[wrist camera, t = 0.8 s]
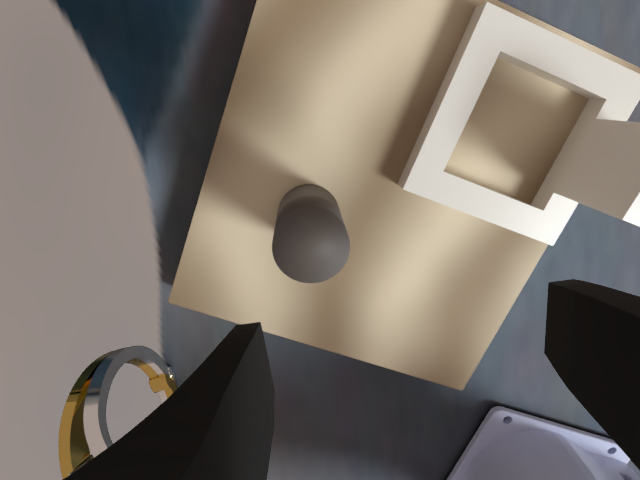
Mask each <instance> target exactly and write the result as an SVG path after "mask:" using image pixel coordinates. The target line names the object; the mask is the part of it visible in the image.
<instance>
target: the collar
mask: <svg viewBox="0 0 640 480" xmlns="http://www.w3.org/2000/svg"><path fill="white" fill-rule="evenodd" d="M497 58H500V59H502V60H504V61H506V62H509V63H511V64H513V65H515V66H517V67H520V68H522V69H524V70H526V71H528V72H531V73H533V74H535V75H537V76H540V77H542V78H544V79H546V80H548V81H551V82H553V83H555V84H557V85H559V86H562V87H564V88H566V89H568V90H571V91H573V92H575V93H577V94H579V95H582V96H584V97H586V98H588V99H589V100H588V102H587V104H586V106H585V107H584V109H583V111H582V113H581V115H580V116H579V118H578V120H577V122H576V124H575V125H574V127H573V129H572V131H571V133H570V135H569V136H568V138H567V140H566V142H565V144H564V145H563V147H562V149H561V151H560V153H559V154H558V156H557V158H556V160H555V162H554V163H553V165H552V167H551V169H550V171H549V172H548V174H547V176H546V178H545V180H544V181H543V183H542V185H541V187H540V189H539V190H538V192H537V194H536V196H535V198H534V199H533V201H532V203H531V204H528V203H525V202H523V201H520V200H518V199H515V198H513V197H510V196H508V195H505V194H503V193H500V192H497V191H495V190H492V189H490V188H487V187H485V186H482V185H480V184H477V183H475V182H472V181H469V180H467V179H464V178H462V177H459V176H457V175H454V174H452V173H449V172H447V171H444V169H445V167H446V165H447V163H448V161H449V159H450V156H451V154H452V152H453V150H454V148H455V146H456V144H457V142H458V140H459V137H460V135H461V133H462V131H463V129H464V127H465V125H466V123H467V121H468V118H469V116H470V114H471V112H472V110H473V108H474V106H475V104H476V102H477V99H478V97H479V95H480V93H481V91H482V89H483V87H484V85H485V83H486V80H487V78H488V76H489V74H490V72H491V70H492V68H493V66H494V64H495V62H496V59H497ZM639 100H640V74H639V73H637V72H635V71H632V70H630V69H628V68H626V67H624V66H622V65H620V64H618V63H616V62H613V61H611V60H609V59H607V58H605V57H603V56H601V55H599V54H597V53H594V52H592V51H590V50H588V49H586V48H584V47H582V46H580V45H578V44H575V43H573V42H571V41H569V40H567V39H565V38H563V37H561V36H559V35H557V34H554V33H552V32H550V31H548V30H546V29H544V28H542V27H540V26H538V25H535V24H533V23H531V22H529V21H527V20H525V19H523V18H521V17H519V16H516V15H514V14H512V13H510V12H508V11H506V10H504V9H502V8H500V7H497V6H495V5H493V4H491V3H489V2H485V3H483V4H481V5H479V6H477V7H476V8H475V10H474V12H473V14H472V17H471V19H470V21H469V23H468V26H467V28H466V30H465V32H464V35H463V37H462V39H461V41H460V44H459V46H458V48H457V50H456V53H455V55H454V57H453V59H452V62H451V64H450V66H449V68H448V71H447V73H446V75H445V77H444V80H443V82H442V84H441V86H440V89H439V91H438V93H437V96H436V98H435V100H434V102H433V105H432V107H431V109H430V111H429V114H428V116H427V118H426V120H425V123H424V125H423V127H422V129H421V132H420V134H419V136H418V138H417V141H416V143H415V145H414V147H413V150H412V152H411V154H410V156H409V159H408V161H407V163H406V165H405V168H404V170H403V172H402V174H401V177H400V179H399V181H398V185H399V186H400V187H401V188H402V189H403V190H406V191H408V192H411V193H414V194H416V195H419V196H422V197H424V198H427V199H430V200H432V201H435V202H437V203H440V204H443V205H445V206H448V207H451V208H453V209H456V210H459V211H461V212H464V213H467V214H469V215H472V216H475V217H477V218H480V219H482V220H485V221H488V222H490V223H493V224H496V225H498V226H501V227H504V228H506V229H509V230H512V231H514V232H517V233H520V234H522V235H525V236H527V237H530V238H533V239H535V240H538V241H541V242H543V243H546V244H549V245H551V246H553V245H554V244H555V242H556V240H557V239H558V237H559V235H560V234H561V232H562V230H563V228H564V227H565V225H566V223H567V222H568V220H569V218H570V217H571V215H572V213H573V212H574V210H575V208H576V206H577V205H578V203H581V204H583V205H586V206H588V207H591V208H593V209H596V210H598V211H601V212H603V213H606V214H608V215H611V216H614V217H616V218H619V219H621V220H624V221H626V222H629V223H631V224H634V225H636V226H639V227H640V122H629V121H627V120H628V118H629V117H630V115H631V113H632V112H633V110H634V108H635V107H636V105H637V103H638V101H639Z"/></svg>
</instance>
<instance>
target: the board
mask: <svg viewBox="0 0 640 480" xmlns="http://www.w3.org/2000/svg"><path fill="white" fill-rule="evenodd" d="M485 2H489V3H491V4H493V5H495V6H497V7H500V8H502V9H504V10H506V11H508V12H510V13H512V14H514V15H516V16H519V17H521V18H523V19H525V20H527V21H529V22H531V23H533V24H535V25H538V26H540V27H542V28H544V29H546V30H548V31H550V32H552V33H554V34H557V35H559V36H561V37H563V38H565V39H567V40H569V41H571V42H573V43H575V44H578V45H580V46H582V47H584V48H586V49H588V50H590V51H592V52H594V53H597V54H599V55H601V56H603V57H605V58H607V59H609V60H611V61H613V62H616V63H618V64H620V65H622V66H624V67H626V68H628V69H630V70H632V71H635V72H637V73H639V74H640V68H639V67H637V66H635V65H632V64H630V63H628V62H626V61H624V60H622V59H620V58H618V57H616V56H614V55H612V54H609V53H607V52H605V51H603V50H601V49H599V48H597V47H595V46H593V45H591V44H588V43H586V42H584V41H582V40H580V39H578V38H576V37H574V36H572V35H570V34H567V33H565V32H563V31H561V30H559V29H557V28H555V27H553V26H551V25H549V24H547V23H544V22H542V21H540V20H538V19H536V18H534V17H532V16H530V15H528V14H526V13H523V12H521V11H519V10H517V9H515V8H513V7H511V6H509V5H507V4H505V3H503V2H500V1H498V0H257V1H256V5H255V8H254V12H253V15H252V18H251V22H250V25H249V28H248V32H247V35H246V39H245V42H244V45H243V49H242V52H241V56H240V59H239V62H238V66H237V69H236V73H235V76H234V79H233V83H232V86H231V90H230V93H229V96H228V100H227V103H226V107H225V110H224V113H223V117H222V120H221V124H220V127H219V130H218V134H217V137H216V141H215V144H214V147H213V151H212V154H211V158H210V161H209V164H208V168H207V171H206V175H205V178H204V181H203V185H202V188H201V192H200V195H199V198H198V202H197V205H196V209H195V212H194V215H193V219H192V222H191V226H190V229H189V232H188V236H187V239H186V243H185V246H184V249H183V253H182V256H181V260H180V263H179V266H178V270H177V273H176V277H175V280H174V283H173V287H172V290H171V294H170V297H169V300H168V303H171V304H174V305H178V306H181V307H184V308H188V309H191V310H194V311H198V312H201V313H204V314H208V315H211V316H214V317H218V318H221V319H224V320H228V321H231V322H234V323H238V324H249V323H256V322H261V326H262V331H264V332H268V333H271V334H274V335H278V336H281V337H284V338H288V339H291V340H294V341H298V342H301V343H304V344H308V345H311V346H314V347H318V348H321V349H324V350H328V351H331V352H334V353H338V354H341V355H344V356H348V357H351V358H354V359H358V360H361V361H364V362H368V363H371V364H374V365H378V366H381V367H384V368H388V369H391V370H394V371H398V372H401V373H404V374H408V375H411V376H414V377H418V378H421V379H424V380H428V381H431V382H434V383H438V384H441V385H444V386H448V387H451V388H454V389H458V390H461V391H463V389H464V387H465V386H466V384H467V382H468V380H469V379H470V377H471V375H472V374H473V372H474V370H475V368H476V367H477V365H478V363H479V362H480V360H481V358H482V357H483V355H484V353H485V351H486V350H487V348H488V346H489V345H490V343H491V341H492V339H493V338H494V336H495V334H496V333H497V331H498V329H499V328H500V326H501V324H502V322H503V321H504V319H505V317H506V316H507V314H508V312H509V310H510V309H511V307H512V305H513V304H514V302H515V300H516V299H517V297H518V295H519V293H520V292H521V290H522V288H523V287H524V285H525V283H526V281H527V280H528V278H529V276H530V275H531V273H532V271H533V270H534V268H535V266H536V264H537V263H538V261H539V259H540V258H541V256H542V254H543V252H544V251H545V249H546V247H547V246H548V244H546V243H543V242H541V241H538V240H535V239H533V238H530V237H527V236H525V235H522V234H520V233H517V232H514V231H512V230H509V229H506V228H504V227H501V226H498V225H496V224H493V223H490V222H488V221H485V220H482V219H480V218H477V217H475V216H472V215H469V214H467V213H464V212H461V211H459V210H456V209H453V208H451V207H448V206H445V205H443V204H440V203H437V202H435V201H432V200H430V199H427V198H424V197H422V196H419V195H416V194H414V193H411V192H408V191H406V190H403V189H402V188H401V187H400V186H399V185H398V181H399V179H400V177H401V174H402V172H403V170H404V168H405V165H406V163H407V161H408V159H409V156H410V154H411V152H412V150H413V147H414V145H415V143H416V141H417V138H418V136H419V134H420V132H421V129H422V127H423V125H424V123H425V120H426V118H427V116H428V114H429V111H430V109H431V107H432V105H433V102H434V100H435V98H436V96H437V93H438V91H439V89H440V86H441V84H442V82H443V80H444V77H445V75H446V73H447V71H448V68H449V66H450V64H451V62H452V59H453V57H454V55H455V53H456V50H457V48H458V46H459V44H460V41H461V39H462V37H463V35H464V32H465V30H466V28H467V26H468V23H469V21H470V19H471V17H472V14H473V12H474V10H475V8H476V7H477V6H479V5H481V4H483V3H485ZM588 100H589V99H588V98H586V97H584V96H582V95H579V94H577V93H575V92H573V91H571V90H568V89H566V88H564V87H562V86H559V85H557V84H555V83H553V82H551V81H548V80H546V79H544V78H542V77H540V76H537V75H535V74H533V73H531V72H528V71H526V70H524V69H522V68H520V67H517V66H515V65H513V64H511V63H509V62H506V61H504V60H502V59H500V58H497V59H496V62H495V64H494V66H493V68H492V70H491V72H490V74H489V76H488V78H487V80H486V83H485V85H484V87H483V89H482V91H481V93H480V95H479V97H478V99H477V102H476V104H475V106H474V108H473V110H472V112H471V114H470V116H469V118H468V121H467V123H466V125H465V127H464V129H463V131H462V133H461V135H460V137H459V140H458V142H457V144H456V146H455V148H454V150H453V152H452V154H451V156H450V159H449V161H448V163H447V165H446V167H445V169H444V171H447V172H449V173H452V174H454V175H457V176H459V177H462V178H464V179H467V180H469V181H472V182H475V183H477V184H480V185H482V186H485V187H487V188H490V189H492V190H495V191H497V192H500V193H503V194H505V195H508V196H510V197H513V198H515V199H518V200H520V201H523V202H525V203H528V204H531V203H532V201H533V199H534V198H535V196H536V194H537V192H538V190H539V189H540V187H541V185H542V183H543V181H544V180H545V178H546V176H547V174H548V172H549V171H550V169H551V167H552V165H553V163H554V162H555V160H556V158H557V156H558V154H559V153H560V151H561V149H562V147H563V145H564V144H565V142H566V140H567V138H568V136H569V135H570V133H571V131H572V129H573V127H574V125H575V124H576V122H577V120H578V118H579V116H580V115H581V113H582V111H583V109H584V107H585V106H586V104H587V102H588Z"/></svg>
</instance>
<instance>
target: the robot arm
mask: <svg viewBox="0 0 640 480" xmlns="http://www.w3.org/2000/svg"><path fill="white" fill-rule="evenodd" d="M544 353H545V354H546V356H547V358H548V359H549V361H550V362H551V364H552V366H553V367H554V369H555V370H556V372H557V373H558V375H559V376H560V378H561V379H562V380H563V382H564V383H565V385H566V386H567V388H568V389H569V390H570V391H571V392H572V394H573V395H574V396H575V397H576V398H577V399H578V401H579V402H580V403H581V404H582V405H583V406H584V408H585V409H586V410H587V411H588V412H589V413H590V414H591V416H592V417H593V418H594V419H595V420H596V421H597V422H598V423H599V425H600V426H601V427H602V428H603V429H604V430H605V431H606V432H607V434H608V435H609V436H610V437H611V438H612V439H613V440H612V439H609V438H605V437H602V436H599V435H595V434H592V433H589V432H585V431H582V430H579V429H575V428H572V427H569V426H565V425H562V424H558V423H555V422H552V421H548V420H545V419H542V418H538V417H535V416H532V415H528V414H525V413H522V412H518V411H515V410H512V409H508V408H505V407H501V406H496V407H493V408H492V409H491V410H490V411H489V412H488V414H487V415H486V417H485V419H484V420H483V422H482V423H481V425H480V427H479V428H478V430H477V432H476V433H475V435H474V436H473V438H472V440H471V441H470V443H469V444H468V446H467V448H466V449H465V451H464V452H463V454H462V456H461V457H460V459H459V460H458V462H457V464H456V465H455V467H454V469H453V470H452V472H451V473H450V475H449V477H448V478H447V480H640V479H639V477H638V476H637V475H636V474H635V473H634V472H633V471H632V469H631V468H630V467H629V466H628V465H627V463H628V462H629V461H630V460H631V461H632V462H633V463H634V464H635V465H636V466H637V468H638V469H639V470H640V297H639V296H635V295H632V294H628V293H625V292H622V291H618V290H615V289H612V288H608V287H605V286H601V285H597V284H593V283H589V282H585V281H580V280H575V279H572V280H564V281H557V282H550V283H549V286H548V302H547V319H546V335H545V351H544ZM507 416H508V417H507ZM505 417H507V418H505ZM504 418H505V419H504ZM273 428H274V386H273V381H272V376H271V371H270V366H269V361H268V356H267V351H266V346H265V341H264V336H263V331H262V326H261V322H256V323H249V324H241V325H236V326H235V327H234V328H233V329H232V330H231V331H230V332H229V334H228V335H227V336H226V337H225V338H224V339H223V341H222V342H221V343H220V344H219V345H218V346H217V347H216V349H215V350H214V351H213V352H212V353H211V354H210V355H209V356H208V357H207V359H206V360H205V361H204V362H203V363H202V364H201V365H200V366H199V367H198V368H197V370H196V371H195V372H194V373H193V374H192V375H191V376H190V377H189V378H188V379H187V380H186V381H185V382H184V383H183V384H182V385H181V386H180V387H179V388H178V389H177V390H176V391H175V392H174V393H173V394H172V395H171V396H170V397H169V398H168V399H167V400H166V401H164V402H163V403H162V404H161V405H160V406H159V407H158V408H157V409H156V410H154V411H153V412H152V413H151V414H150V415H149V416H148V417H146V418H145V419H144V420H143V421H142V422H140V423H139V424H138V425H137V426H136V427H134V428H133V429H132V430H131V431H129V432H128V433H127V434H126V435H124V436H123V437H122V438H121V439H119V440H118V441H117V442H115V443H114V444H112V445H111V446H110V447H108V448H107V449H106V450H104V451H103V452H101V453H100V454H99V455H97V456H96V457H94V458H93V459H92V460H90V461H89V462H88V463H86V464H85V465H83V466H82V467H81V468H79V469H78V470H76V471H75V472H74V473H72V474H71V475H69V476H68V477H66V478H64V479H63V480H266V479H267V472H268V465H269V458H270V451H271V443H272V436H273Z"/></svg>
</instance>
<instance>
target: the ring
mask: <svg viewBox="0 0 640 480" xmlns="http://www.w3.org/2000/svg"><path fill="white" fill-rule="evenodd" d="M124 363H131V364H133V365H136V366H138V367H139V368H141V369H142V370H143V371H144V372H145V373H146V374H147V375H148V376H149V378H150V379H149V384H150V387H151V389H152V390H153V392H154V393H156V392H158V394H159V397H160V400H161V403H163V402H164V401H166V400H167V399H168V398H169V397H170V396H171V395H172V394H173V393H174V392H175V391H176V390H177V389H178V388H177V385H176V383H175V380H176V376H175V373H174V371H173V369H172V367H170V366H169V367H168V366H167V365H166V363H165V362H164V361H163V359H162V358H161V357H160V356H159V355H158V354H157V353H156V352H154V351H153V350H151V349H149V348H147V347H144V346H132V347H127V348H122V349H118V350H115V351H111V352H108V353H106V354H104V355H102V356H101V357H99V358H98V359H96V360H95V361H94V362H92V363H91V364H90V365H89V366H88V367H87V368H86V369H85V371H84V372H83V373H82V374H81V375H80V377H79V378H78V380H77V381H76V383H75V384H74V386H73V388H72V390H71V392H70V394H69V396H68V399H67V401H66V404H65V407H64V411H63V414H62V418H61V424H60V431H59V460H60V468H61V473H62V477H63V479H64V478H66V477H68V476H69V475H71V474H72V473H74V472H75V471H76V470H78V469H79V468H81V467H82V466H83V465H85V464H86V463H88V462H89V461H90V460H92V459H93V458H94V457H96V456H97V455H99V454H100V453H101V452H103V451H104V450H106V449H107V448H108V447H110V446H111V445H112V444H113V443H112V441H111V439H110V436H109V432H108V428H107V423H106V404H107V398H108V393H109V390H110V386H111V383H112V381H113V379H114V376H115V375H116V373H117V371H118V370H119V369H120V367H121V366H122V365H123V364H124ZM89 449H90V451H91V453H92V455H90V451H89Z"/></svg>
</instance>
